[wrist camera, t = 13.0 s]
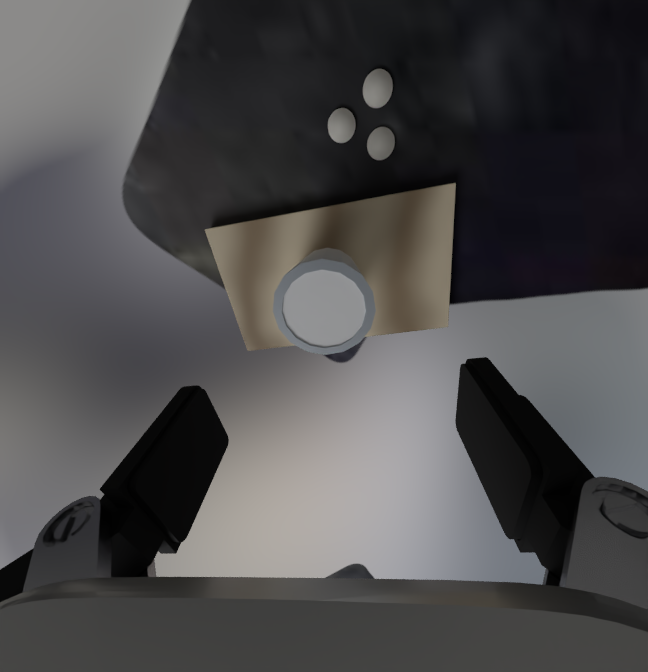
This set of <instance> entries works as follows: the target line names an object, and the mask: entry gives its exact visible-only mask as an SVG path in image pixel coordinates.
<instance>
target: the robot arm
mask: <svg viewBox="0 0 648 672" xmlns="http://www.w3.org/2000/svg"><path fill="white" fill-rule="evenodd" d="M456 428H457V431H458V432H459V435H460V438H461V439H462V442H463V444H464V446H465V448H466V450H467V453H468V455H469V457H470V459H471V461H472V464H473V466H474V467H475V470H476V472H477V474H478V477H479V479H480V481H481V483H482V485H483V487H484V490H485V492H486V494H487V496H488V498H489V500H490V503H491V505H492V507H493V509H494V511H495V513H496V515H497V518H498V520H499V522H500V524H501V527H502V529H503V531H504V533H505V535H506V536H507V537H508V538H509V539H514V540H515V542H516V544H517V547H518V548H519V550H520V552H535V553H536V555H537V557H538V559H539V561H540V562H541V565H542V566H544V567H545V568H546V571H545V575H544V580H543V584H542V585H537V584H525V583H510V582H484V581H456V580H405V579H344V578H251V577H249V578H248V577H156V571H155V562H154V558H155V556H156V554H157V552H158V551H159V552H160V553H177V550H178V548H179V546H180V544H181V542H183V541H184V540H185V539H186V537H187V535H188V533H189V531H190V529H191V527H192V524H193V522H194V520H195V518H196V515H197V513H198V511H199V509H200V506H201V504H202V502H203V500H204V497H205V495H206V493H207V491H208V488H209V486H210V484H211V482H212V480H213V477H214V475H215V473H216V471H217V468H218V466H219V464H220V462H221V459H222V457H223V455H224V453H225V451H226V448H227V446H228V436H227V433H226V431H225V429H224V427H223V425H222V423H221V421H220V419H219V417H218V415H217V413H216V411H215V409H214V407H213V405H212V403H211V401H210V399H209V397H208V395H207V393H206V391H205V390H204V389H202V388H201V387H200V386H186V387H182V388H181V389H180V390H179V391H178V392H177V394H176V395H175V396H174V397H173V399H172V400H171V401H170V402H169V403H168V405H167V406H166V407H165V408H164V410H163V411H162V413H161V414H160V415H159V416H158V418H156V420H155V421H154V422H153V423H152V425H151V426H150V427H149V428H148V430H147V431H146V432H145V433H144V435H143V436H142V437H141V439H140V440H139V441H138V442H137V443H136V445H135V446H134V447H133V448H132V450H131V451H130V452H129V453H128V454H127V456H126V457H125V458H124V459H123V461H122V462H121V463H120V465H119V466H118V467H117V468H116V469H115V471H114V472H113V473H112V474H111V476H110V477H109V478H108V479H107V481H106V482H105V483H104V484H103V486H102V487H101V488H100V490H101V491H102V492H103V493H104V494H105V495H104V496H103V497H102V498H101V500H100V499H98V498H97V497H96V496H88V497H84V498H81V499H79V500H76V501H74V502H72V503H71V504H69V505H68V506H66V507H65V508H63V509H62V510H61V511H59V512H58V513H57V514H56V515H55V516H54V517H53V518H52V519H51V520H50V521H49V522H48V523H47V524H46V525H45V526H44V528H43V529H42V531H41V532H40V533H39V535H38V538H37V540H36V542H35V546H34V548H33V549H32V550H30V551H29V552H27V553H26V554H24V555H23V556H21V557H19V558H18V559H16V560H15V561H13V562H12V563H10V564H9V565H7V566H5V567H4V568H2V569H1V570H0V672H648V492H647V491H646V490H644V489H642V488H640V487H638V486H636V485H633V484H631V483H628V482H625V481H622V480H619V479H616V478H608V477H597V478H595V477H594V476H593V475H592V474H591V472H590V471H589V470H588V469H587V468H586V466H585V465H584V464H583V463H582V462H581V461H580V460H579V458H578V457H577V456H576V455H575V454H574V452H573V451H572V450H571V449H570V448H569V447H568V445H567V444H566V443H565V442H564V441H563V440H562V438H561V437H560V436H559V435H558V434H557V433H556V431H555V430H554V429H553V428H552V427H551V426H550V425H549V423H548V422H547V421H546V420H545V419H544V418H543V416H542V415H541V414H540V413H539V412H538V410H537V409H536V408H535V407H534V406H533V405H532V403H530V401H529V400H528V399H527V398H526V397H524V396H522V395H518V394H517V392H516V391H515V390H514V389H513V388H512V386H511V385H510V384H509V383H508V382H507V381H506V379H505V378H504V377H503V376H502V374H501V373H500V372H499V371H498V370H497V368H496V367H495V366H494V365H493V364H492V362H491V361H490V360H489V359H488V358H486V357H485V358H474V359H467V361H466V364H461V367H460V378H459V388H458V399H457V411H456Z"/></svg>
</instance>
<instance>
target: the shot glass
mask: <svg viewBox="0 0 648 672" xmlns="http://www.w3.org/2000/svg"><path fill="white" fill-rule="evenodd" d="M375 312H376V309H375V302H374V295H373V291H372V289H371V288H370V286H369V285H368V283H367V282H366V280H365V278H364V277H363V275H362V274H361V272H360V270H359V269H358V267H357V266H356V264H355V263H354V261H353V260H352V258H351V257H350V256H348V255H347V254H345V253H344V252H342V251H341V250H337V249H332V248H324V249H319V250H315V251H313V252H312V253H311V254H309V255H308V256H306V257H305V258H304V259H303V260H302V261H300V262H299V263H298V264H297V265H296V266H295V267H293V268H292V269H291V270H290V271H289V272H288V273H287V274H285V275H284V277H283V278H282V280H281V282H280V284H279V285H278V287H277V289H276V291H275V293H274V304H273V313H274V316H275V319H276V322H277V325H278V328H279V330H280V331H281V332H282V333H283V334H284V335H285V336H286V338H287V339H288V340H289V341H290V342H291V343H292V344H294V345H296V346H298V347H300V348H301V349H303V350H305V351H307V352H313V353H319V354H324V355H326V354H332V353H339V352H344V351H345V350H347V349H349V348H351V347H353V346H354V345H356V344H358V343H359V342H360V341H361V340H362V339H363V338H364V336H365V335H366V334H367V333H368V331H369V330H370V329H371V326H372V323H373V319H374V316H375Z"/></svg>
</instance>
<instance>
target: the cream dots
mask: <svg viewBox="0 0 648 672" xmlns="http://www.w3.org/2000/svg"><path fill="white" fill-rule="evenodd" d="M392 90H393V82H392V78H391V76H390V75H389V73H388V72H387V71H385V70H383V69H376V70H373V71H372V72H371V73H370V74H369V75H368V76H367V77H366V79H365V82H364V85H363V97H364V100H365V102H366V103H367V104H368V105H369V106H370V107H372V108H380V107H382V106H384V105H385V104H386V103H387V102H388V100H389V99H390V97H391V94H392ZM355 126H356V123H355V118H354V116H353V114H352V113H351V111H349V110H348V109H346V108H339V109H336V110H335V111H334V112H333V113H332V114H331V116H330V118H329V121H328V132H329V134H330V136H331V138H332V139H333V140H334V141H335V142H338V143H345V142H347V141H348V140H350V139H351V137H352V136H353V134H354V131H355ZM394 145H395V138H394V135H393V133H392V131H391V130H390V129H388V128H386V127H378V128H376V129H375V130H374V131H373V132H372V133H371V134H370V136H369V138H368V141H367V150H368V153H369V155H370V156H371V157H372V158H373V159H375V160H383V159H385V158H387V157H388V156H389V155H390V154H391V153H392V151H393V149H394Z"/></svg>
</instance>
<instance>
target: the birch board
mask: <svg viewBox="0 0 648 672" xmlns="http://www.w3.org/2000/svg"><path fill="white" fill-rule="evenodd" d="M455 189H456V183H449V184H444V185H439V186H433V187H428V188H423V189H417V190H412V191H406V192H401V193H396V194H390V195H385V196H379V197H374V198H369V199H363V200H358V201H353V202H347V203H342V204H336V205H331V206H326V207H320V208H315V209H310V210H304V211H299V212H293V213H288V214H283V215H277V216H272V217H266V218H261V219H256V220H250V221H245V222H240V223H234V224H229V225H223V226H218V227H213V228H209V229H205V232H206V235H207V238H208V240H209V243H210V246H211V249H212V252H213V255H214V257H215V260H216V263H217V266H218V269H219V271H220V274H221V277H222V280H223V283H224V285H225V288H226V291H227V294H228V297H229V299H230V302H231V305H232V308H233V310H234V313H235V316H236V319H237V322H238V325H239V328H240V330H241V333H242V336H243V339H244V342H245V344H246V347H247V350H248V351H252V350H259V349H268V348H276V347H285V346H293V345H294V344H292V343H291V342H290V341H289V340H288V339H287V338H286V336H285V335H284V334H283V333H282V332H281V331H280V330H279V328H278V325H277V322H276V319H275V316H274V313H273V304H274V293H275V291H276V289H277V287H278V285H279V284H280V282H281V280H282V278H283V277H284V275H285V274H287V273H288V272H289V271H290V270H291V269H292V268H293V267H295V266H296V265H297V264H298V263H299V262H300V261H302V260H303V259H304V258H305V257H306V256H308V255H309V254H311V253H312V252H313V251H315V250H319V249H324V248H332V249H337V250H341V251H342V252H344V253H345V254H347V255H348V256H350V257H351V258H352V260H353V261H354V263H355V264H356V266H357V267H358V269H359V270H360V272H361V274H362V275H363V277H364V278H365V280H366V282H367V283H368V285H369V286H370V288H371V289H372V291H373V295H374V302H375V309H376V312H375V316H374V319H373V323H372V326H371V329H370V330H369V331H368V333H367V334H366V335H365V336H364V337H368V336H376V335H385V334H393V333H401V332H409V331H418V330H426V329H435V328H443V327H448V318H449V317H448V316H449V300H450V282H451V263H452V245H453V226H454V208H455Z"/></svg>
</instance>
